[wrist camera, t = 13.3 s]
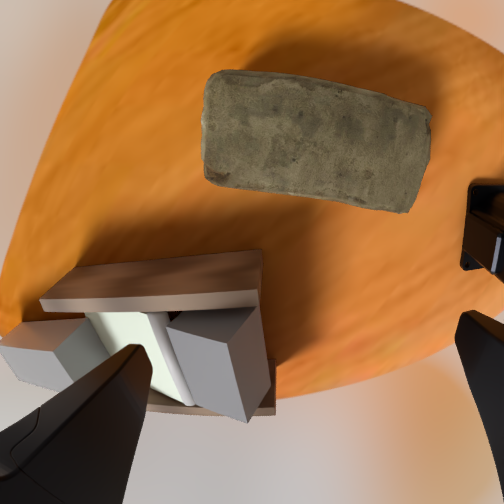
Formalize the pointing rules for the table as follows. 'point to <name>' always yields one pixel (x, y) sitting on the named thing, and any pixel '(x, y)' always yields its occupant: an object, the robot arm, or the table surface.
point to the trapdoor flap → (197, 354)
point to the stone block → (313, 139)
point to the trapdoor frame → (167, 299)
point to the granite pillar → (53, 352)
